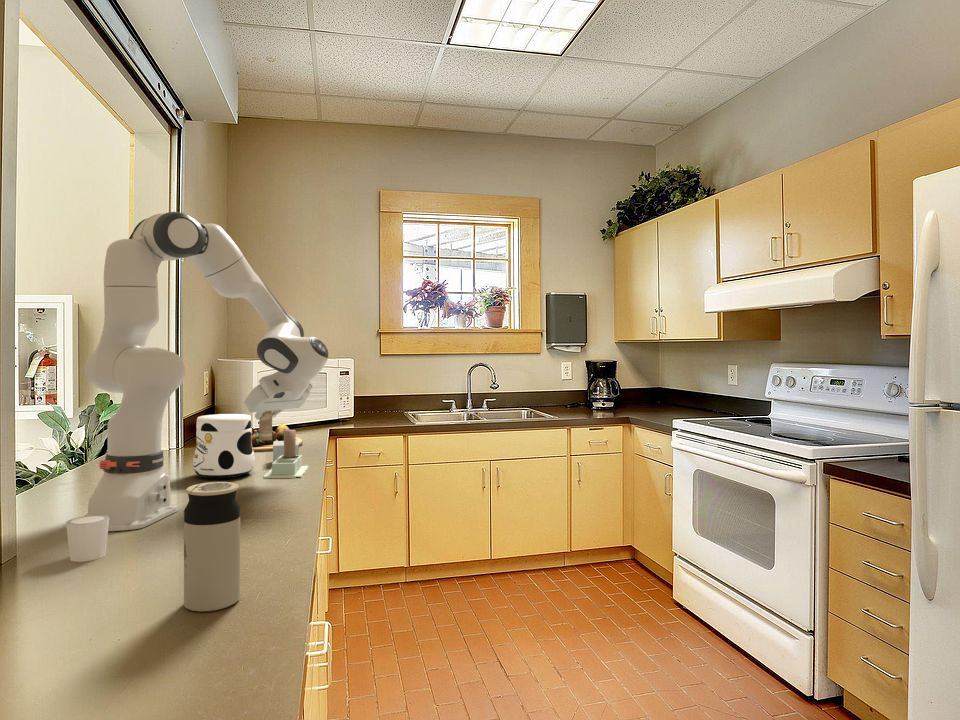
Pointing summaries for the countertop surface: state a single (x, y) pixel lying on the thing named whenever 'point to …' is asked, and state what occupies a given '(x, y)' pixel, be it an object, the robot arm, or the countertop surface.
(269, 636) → the countertop surface
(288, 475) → the pin board
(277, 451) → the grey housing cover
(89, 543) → the white cup
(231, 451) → the milk container
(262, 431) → the beech peg
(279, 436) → the wooden plate with food
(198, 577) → the travel mug
